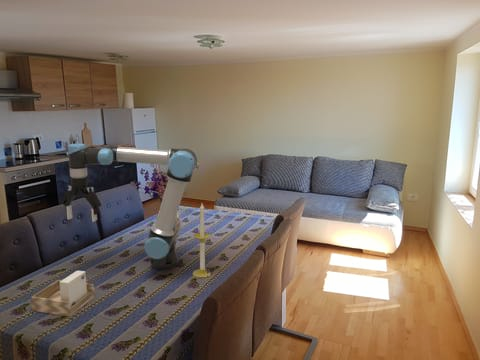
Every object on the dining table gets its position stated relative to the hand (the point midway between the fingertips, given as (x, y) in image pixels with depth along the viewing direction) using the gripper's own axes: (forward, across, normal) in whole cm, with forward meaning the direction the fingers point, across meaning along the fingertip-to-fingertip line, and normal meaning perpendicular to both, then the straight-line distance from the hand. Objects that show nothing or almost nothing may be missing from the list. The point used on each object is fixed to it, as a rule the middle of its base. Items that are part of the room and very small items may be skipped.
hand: (82, 219), depth 177 cm
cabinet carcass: (+29, -8, +26) cm, 40 cm away
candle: (+29, -56, -16) cm, 65 cm away
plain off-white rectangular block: (+28, -13, +26) cm, 40 cm away
